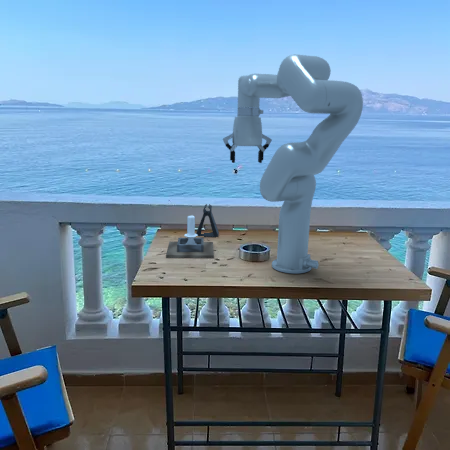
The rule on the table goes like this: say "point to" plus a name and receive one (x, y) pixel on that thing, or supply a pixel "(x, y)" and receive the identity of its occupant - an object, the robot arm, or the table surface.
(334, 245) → the table surface
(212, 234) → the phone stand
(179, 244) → the keeper board
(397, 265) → the table surface
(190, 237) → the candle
